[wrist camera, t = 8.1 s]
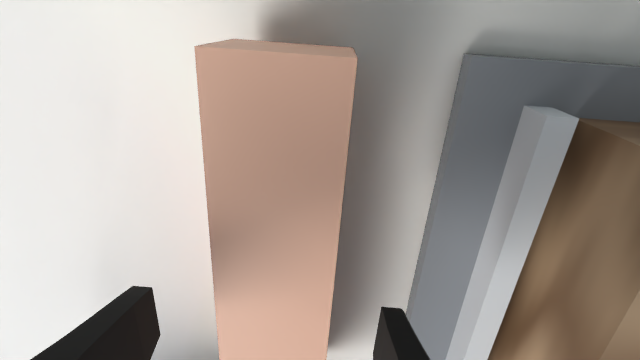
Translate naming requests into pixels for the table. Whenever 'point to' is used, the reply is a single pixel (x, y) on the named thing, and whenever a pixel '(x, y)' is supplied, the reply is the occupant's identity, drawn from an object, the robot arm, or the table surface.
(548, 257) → the tan cardboard box
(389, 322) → the robot arm
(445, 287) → the jig
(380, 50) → the table surface
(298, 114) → the block
